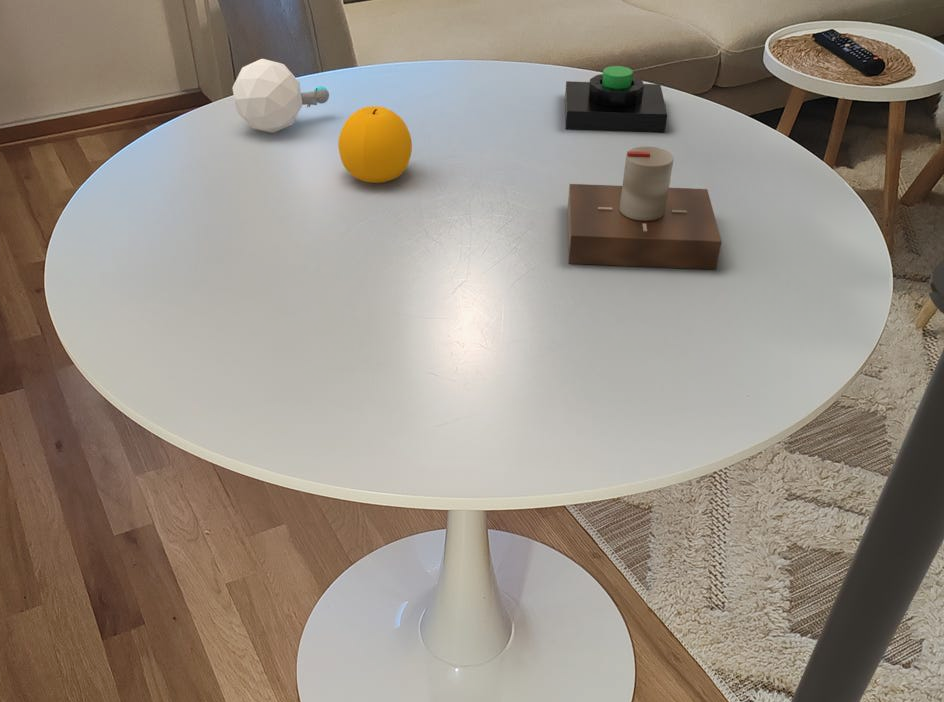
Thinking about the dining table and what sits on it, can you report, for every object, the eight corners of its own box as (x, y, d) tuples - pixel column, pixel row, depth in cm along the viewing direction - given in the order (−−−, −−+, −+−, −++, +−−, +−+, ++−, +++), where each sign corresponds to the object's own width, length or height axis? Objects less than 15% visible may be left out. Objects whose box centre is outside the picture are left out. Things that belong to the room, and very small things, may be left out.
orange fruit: (369, 155, 106) (365, 89, 101) (426, 171, 103) (425, 103, 98) (326, 181, 101) (319, 112, 96) (385, 198, 98) (381, 128, 93)
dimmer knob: (661, 200, 92) (671, 143, 88) (667, 221, 88) (677, 163, 84) (617, 199, 92) (624, 142, 88) (621, 220, 88) (629, 162, 85)
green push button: (630, 80, 114) (632, 66, 113) (632, 91, 112) (634, 76, 111) (601, 79, 115) (602, 65, 113) (602, 90, 112) (603, 75, 111)
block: (657, 101, 119) (662, 69, 116) (664, 132, 112) (669, 99, 109) (564, 98, 120) (567, 66, 117) (565, 129, 112) (568, 95, 110)
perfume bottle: (215, 91, 111) (304, 83, 117) (241, 150, 110) (329, 139, 116) (229, 45, 104) (323, 40, 110) (256, 107, 103) (349, 99, 109)
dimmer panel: (702, 216, 96) (707, 187, 94) (715, 269, 88) (722, 239, 86) (567, 210, 96) (569, 182, 94) (568, 263, 88) (571, 233, 86)
